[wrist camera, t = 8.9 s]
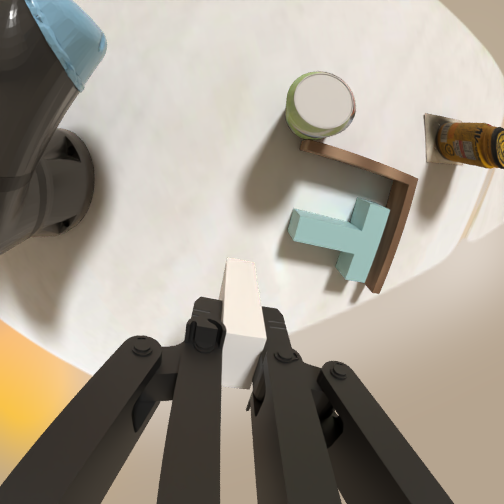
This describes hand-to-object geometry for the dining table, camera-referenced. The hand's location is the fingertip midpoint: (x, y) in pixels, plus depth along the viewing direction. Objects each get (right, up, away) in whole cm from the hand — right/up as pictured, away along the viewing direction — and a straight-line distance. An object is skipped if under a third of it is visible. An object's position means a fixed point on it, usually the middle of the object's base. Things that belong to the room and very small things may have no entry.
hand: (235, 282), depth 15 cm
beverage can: (+7, +18, +15) cm, 24 cm away
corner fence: (+12, +6, +19) cm, 24 cm away
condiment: (+30, +18, +16) cm, 39 cm away
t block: (+12, +5, +20) cm, 24 cm away
